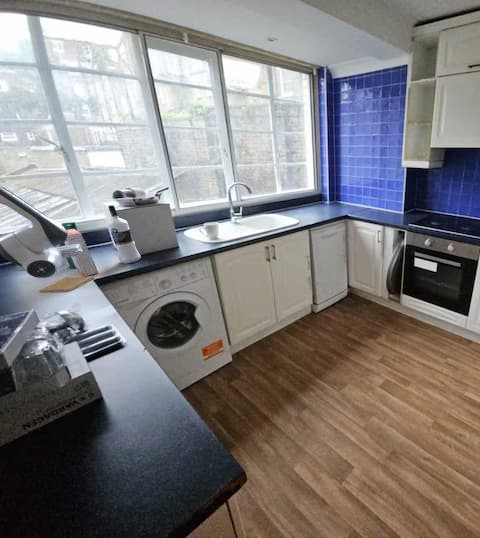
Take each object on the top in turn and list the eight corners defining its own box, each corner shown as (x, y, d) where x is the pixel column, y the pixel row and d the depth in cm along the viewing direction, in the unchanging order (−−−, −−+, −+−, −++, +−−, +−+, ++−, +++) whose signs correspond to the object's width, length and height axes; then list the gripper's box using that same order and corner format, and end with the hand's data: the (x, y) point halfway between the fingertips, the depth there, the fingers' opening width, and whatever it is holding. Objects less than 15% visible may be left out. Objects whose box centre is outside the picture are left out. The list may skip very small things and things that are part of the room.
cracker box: (76, 271, 148) (58, 231, 139) (91, 267, 152) (74, 228, 144) (83, 277, 140) (64, 235, 131) (99, 273, 144) (81, 232, 136)
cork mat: (70, 291, 127) (69, 289, 126) (39, 292, 127) (38, 290, 126) (94, 278, 139) (93, 276, 138) (66, 279, 139) (65, 277, 138)
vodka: (145, 257, 163) (126, 203, 151) (132, 264, 154) (111, 207, 142) (130, 257, 164) (110, 203, 152) (116, 264, 155) (94, 207, 143)
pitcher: (87, 266, 153) (69, 225, 144) (67, 269, 150) (47, 227, 141) (95, 260, 161) (78, 221, 153) (76, 263, 159) (58, 223, 150)
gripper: (78, 244, 121) (80, 237, 131) (5, 257, 109) (13, 248, 119) (84, 258, 123) (85, 250, 133) (14, 272, 112) (21, 262, 121)
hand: (51, 249), depth 126 cm, fingers closed on syrup box, 6 cm apart
